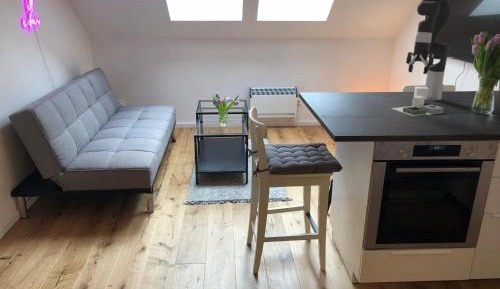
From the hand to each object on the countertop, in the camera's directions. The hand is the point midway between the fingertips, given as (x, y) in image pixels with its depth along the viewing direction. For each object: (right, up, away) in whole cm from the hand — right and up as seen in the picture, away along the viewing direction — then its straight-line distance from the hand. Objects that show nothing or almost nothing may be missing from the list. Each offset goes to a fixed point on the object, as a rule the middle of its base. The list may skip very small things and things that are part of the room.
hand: (417, 73), depth 216 cm
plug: (+3, -18, +7) cm, 19 cm away
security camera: (+8, -15, +18) cm, 25 cm away
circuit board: (0, -21, +1) cm, 21 cm away
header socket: (-3, -21, -4) cm, 22 cm away
